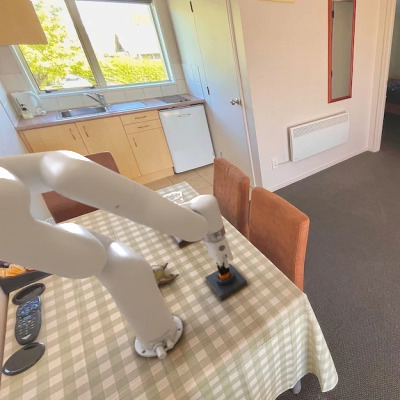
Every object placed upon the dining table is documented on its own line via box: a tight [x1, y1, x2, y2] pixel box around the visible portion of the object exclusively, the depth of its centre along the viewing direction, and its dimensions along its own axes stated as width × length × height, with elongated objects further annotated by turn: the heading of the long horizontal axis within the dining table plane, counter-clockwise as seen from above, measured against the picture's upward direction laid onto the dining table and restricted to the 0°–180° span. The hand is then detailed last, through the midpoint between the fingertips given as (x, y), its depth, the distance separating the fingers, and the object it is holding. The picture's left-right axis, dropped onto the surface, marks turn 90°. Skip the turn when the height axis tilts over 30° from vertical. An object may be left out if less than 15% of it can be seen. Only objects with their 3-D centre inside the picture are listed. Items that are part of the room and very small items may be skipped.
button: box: [219, 272, 230, 280], centre depth 95 cm, size 4×4×2 cm
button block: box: [205, 263, 248, 301], centre depth 96 cm, size 12×10×4 cm
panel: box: [170, 235, 193, 249], centre depth 120 cm, size 14×10×3 cm
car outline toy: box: [162, 190, 187, 204], centre depth 136 cm, size 20×11×7 cm, turn 137°
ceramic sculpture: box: [151, 262, 180, 286], centre depth 94 cm, size 11×9×15 cm
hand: (224, 272), depth 94 cm, fingers closed
